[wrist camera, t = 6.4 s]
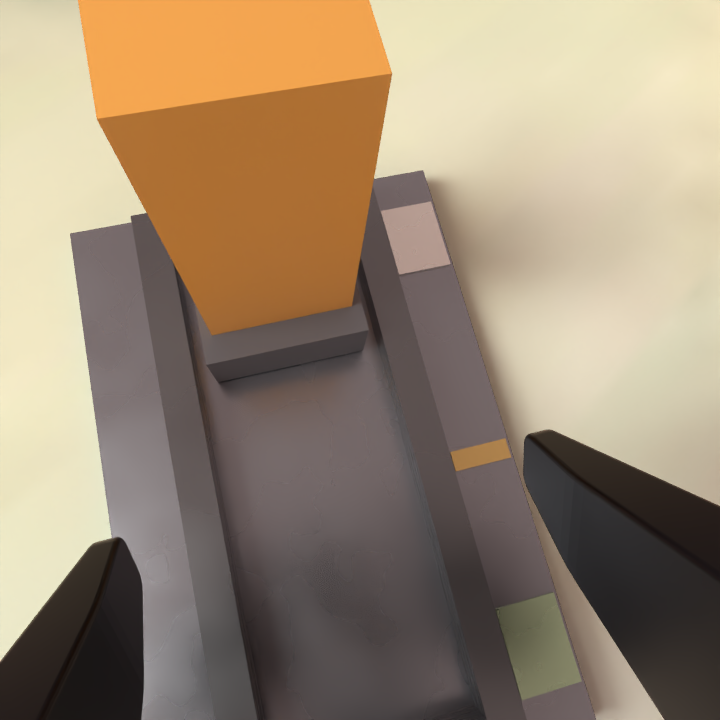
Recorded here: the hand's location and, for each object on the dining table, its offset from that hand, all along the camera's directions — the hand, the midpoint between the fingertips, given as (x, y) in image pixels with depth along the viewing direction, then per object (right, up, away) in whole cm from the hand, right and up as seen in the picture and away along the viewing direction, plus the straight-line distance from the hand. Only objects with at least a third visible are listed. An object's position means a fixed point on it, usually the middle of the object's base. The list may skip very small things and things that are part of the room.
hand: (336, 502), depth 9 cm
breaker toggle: (-2, +4, +9) cm, 11 cm away
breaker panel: (-1, -1, +9) cm, 9 cm away
